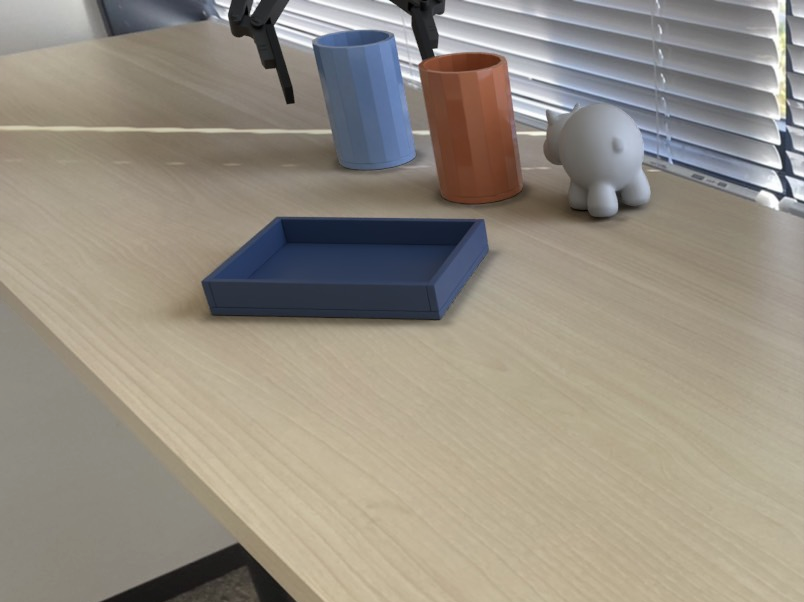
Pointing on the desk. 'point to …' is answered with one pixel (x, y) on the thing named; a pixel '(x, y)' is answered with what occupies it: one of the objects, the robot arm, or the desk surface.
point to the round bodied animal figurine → (598, 157)
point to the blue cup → (365, 98)
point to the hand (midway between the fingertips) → (363, 86)
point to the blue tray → (349, 268)
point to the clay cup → (472, 126)
